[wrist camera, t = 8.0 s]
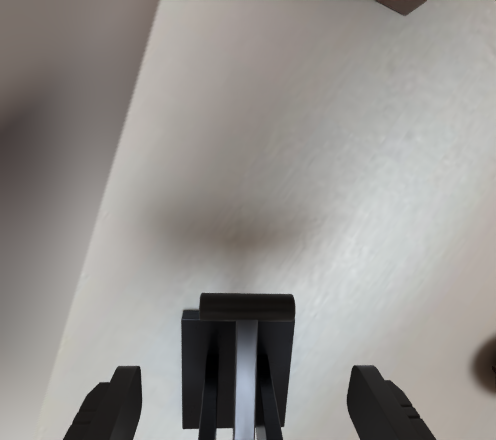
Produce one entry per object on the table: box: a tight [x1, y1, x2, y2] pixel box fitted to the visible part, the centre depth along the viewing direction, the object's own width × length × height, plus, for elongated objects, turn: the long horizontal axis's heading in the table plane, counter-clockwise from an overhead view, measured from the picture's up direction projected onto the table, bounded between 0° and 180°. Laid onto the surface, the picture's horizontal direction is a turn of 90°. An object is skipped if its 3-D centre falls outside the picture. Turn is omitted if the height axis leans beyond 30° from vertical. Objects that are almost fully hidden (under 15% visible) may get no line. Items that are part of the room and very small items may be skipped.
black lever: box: [199, 293, 295, 440], centre depth 16 cm, size 13×5×2 cm, turn 177°
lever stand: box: [181, 311, 295, 440], centre depth 20 cm, size 11×9×13 cm
